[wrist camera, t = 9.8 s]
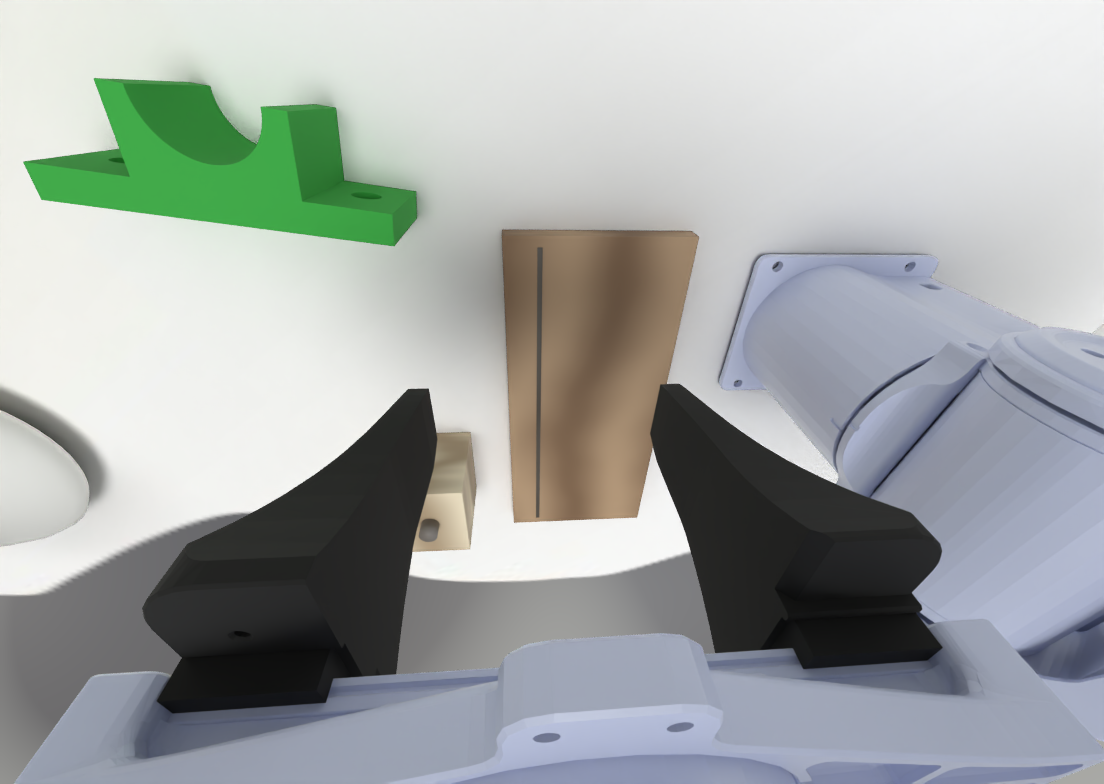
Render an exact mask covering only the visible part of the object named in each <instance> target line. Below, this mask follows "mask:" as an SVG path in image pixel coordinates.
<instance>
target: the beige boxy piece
mask: <svg viewBox="0 0 1104 784" xmlns="http://www.w3.org/2000/svg"><path fill="white" fill-rule="evenodd" d="M437 439H438V440H437V448H436V456H435V463H434V469H433V473H432V477H431V480H430V484H429V488H428V492H427V495H426V499H425V502H424V506H423V510H422V513H421V517H420V521H419V524H418V528H417V532H416V536H415V541H414V545H413V551H412V552H420V551H442V550H465V549H470V545H471V535H472V526H473V516H474V506H475V496H476V478H475V469H474V460H473V452H472V443H471V434H470V432H456V433H437Z"/></svg>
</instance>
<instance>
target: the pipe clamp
mask: <svg viewBox="0 0 1104 784" xmlns="http://www.w3.org/2000/svg"><path fill="white" fill-rule="evenodd" d="M94 81H95V84H96V86H97V89H98V92H99V94H100V97H101V100H102V103H103V105H104V108H105V111H106V113H107V116H108V119H109V121H110V124H111V127H112V130H113V132H114V135H115V138H116V140H117V143H118V146H119V149H114V150H107V151H99V152H92V153H84V154H77V155H70V156H62V157H55V158H47V159H40V160H32V161H25V162H23V163H24V165H25V167H26V169H27V171H28V173H29V175H30V177H31V179H32V181H33V183H34V185H35V187H36V189H37V191H38V193H39V195H40V197H41V200H48V201H55V202H63V203H70V204H78V205H85V206H93V207H101V208H108V209H116V210H123V211H131V212H138V213H146V214H154V215H161V216H169V217H176V218H184V219H191V220H199V221H207V222H214V223H222V224H229V225H237V226H245V227H252V228H260V229H267V230H275V231H282V232H290V233H298V234H305V235H313V236H320V237H328V238H335V239H343V240H351V241H358V242H366V243H373V244H381V245H388V246H395V245H396V243H397V242H398V241H399V240H400V238H401V237H402V236H403V235H404V233H405V232H406V231H407V230H408V228H409V227H410V226H411V225H412V224H413V222H414V221H415V220H416V219H417V204H416V191H410V190H403V189H396V188H390V187H383V186H376V185H370V184H363V183H357V182H350V181H344V175H343V166H342V157H341V148H340V140H339V131H338V122H337V113H336V108H334V107H328V106H322V105H317V104H312V105H289V106H266V107H261V113H262V130H261V135H260V138H259V141H258V143H257V144H255V143H253V142H251V141H249V140H248V139H247V138H245V137H244V136H243V135H241V134H240V133H239V132H238V131H237V130H236V129H235V128H234V127H233V126H232V125H231V124H230V123H229V122H228V120H227V119H226V118H225V116H224V115H223V114H222V112H221V110H220V109H219V107H218V105H217V103H216V101H215V99H214V96H213V94H212V91H211V87H210V86H207V85H202V84H196V83H190V82H173V81H149V80H124V79H100V78H94Z"/></svg>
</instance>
